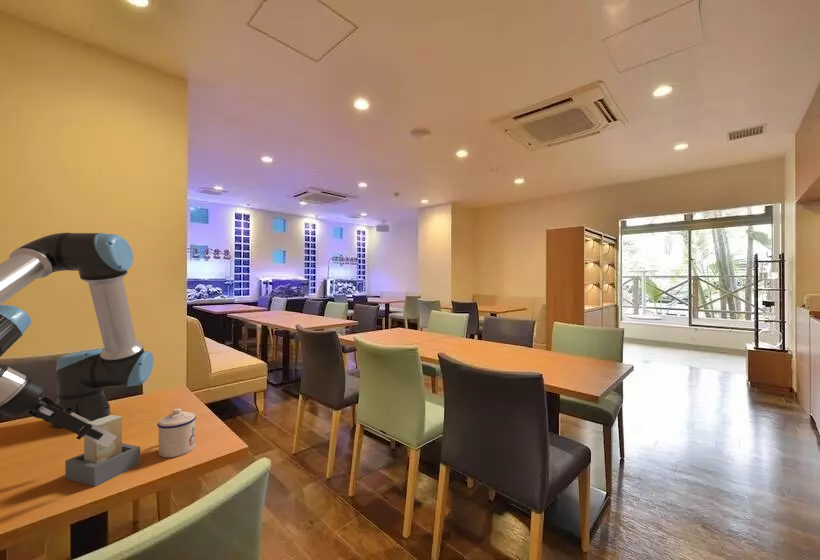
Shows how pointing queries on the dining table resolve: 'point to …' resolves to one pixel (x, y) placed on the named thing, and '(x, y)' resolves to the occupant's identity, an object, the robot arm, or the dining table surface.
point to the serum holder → (102, 466)
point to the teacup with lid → (176, 433)
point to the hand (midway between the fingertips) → (101, 435)
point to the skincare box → (98, 452)
